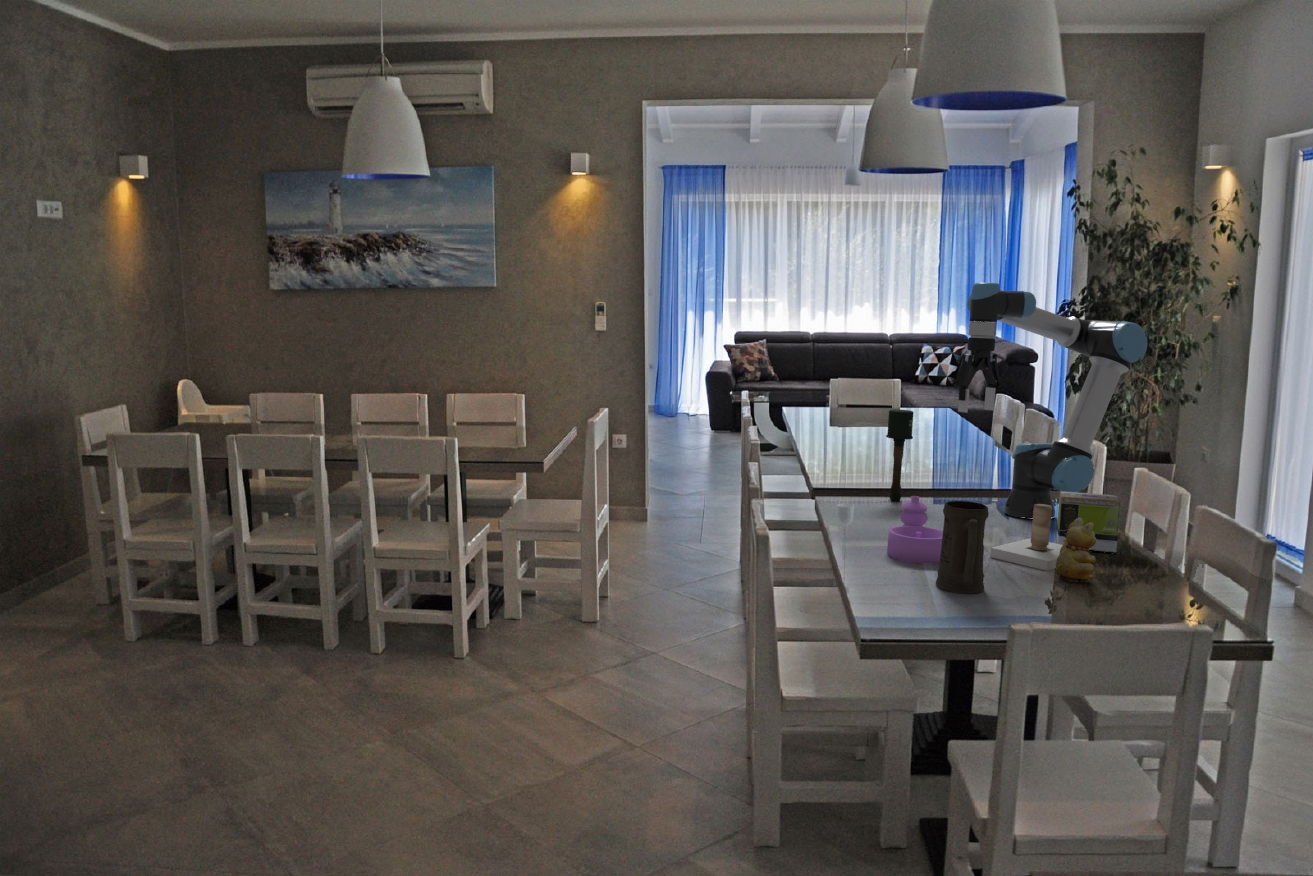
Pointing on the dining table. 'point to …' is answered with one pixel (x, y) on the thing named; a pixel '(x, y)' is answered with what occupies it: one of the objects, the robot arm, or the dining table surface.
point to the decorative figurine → (1077, 553)
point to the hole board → (1027, 554)
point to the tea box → (1090, 517)
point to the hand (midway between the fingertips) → (976, 411)
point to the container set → (914, 536)
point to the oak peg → (1041, 527)
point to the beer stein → (962, 547)
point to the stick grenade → (898, 444)
